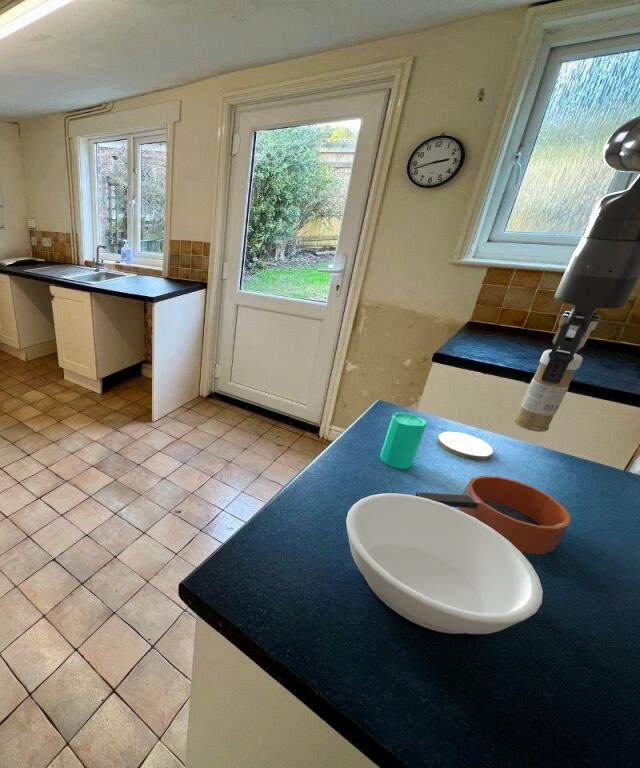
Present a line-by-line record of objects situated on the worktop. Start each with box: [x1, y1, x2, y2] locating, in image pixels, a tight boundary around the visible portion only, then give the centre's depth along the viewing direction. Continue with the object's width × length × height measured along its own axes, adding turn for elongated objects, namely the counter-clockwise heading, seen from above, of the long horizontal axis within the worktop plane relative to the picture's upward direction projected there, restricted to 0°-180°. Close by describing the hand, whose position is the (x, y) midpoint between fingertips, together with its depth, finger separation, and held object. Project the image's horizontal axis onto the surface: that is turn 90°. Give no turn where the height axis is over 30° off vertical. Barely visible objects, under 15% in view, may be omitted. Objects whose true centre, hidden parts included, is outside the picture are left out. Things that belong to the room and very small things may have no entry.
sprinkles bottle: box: [513, 349, 584, 433], centre depth 69 cm, size 5×5×14 cm
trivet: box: [437, 431, 494, 461], centre depth 95 cm, size 10×10×1 cm
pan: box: [414, 474, 572, 555], centre depth 72 cm, size 22×13×6 cm, turn 84°
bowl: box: [345, 492, 544, 635], centre depth 60 cm, size 22×22×8 cm
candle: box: [379, 411, 427, 470], centre depth 88 cm, size 6×6×12 cm
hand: (552, 376), depth 68 cm, fingers closed on sprinkles bottle, 4 cm apart
